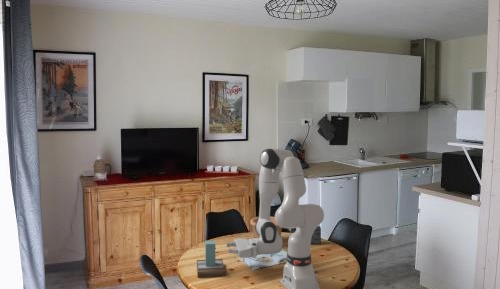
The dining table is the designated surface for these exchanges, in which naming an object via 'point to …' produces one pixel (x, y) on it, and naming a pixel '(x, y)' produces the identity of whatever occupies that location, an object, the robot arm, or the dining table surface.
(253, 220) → the pottery
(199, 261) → the base plinth
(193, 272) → the dining table surface
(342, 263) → the dining table surface
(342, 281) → the dining table surface
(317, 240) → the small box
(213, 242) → the teal block
